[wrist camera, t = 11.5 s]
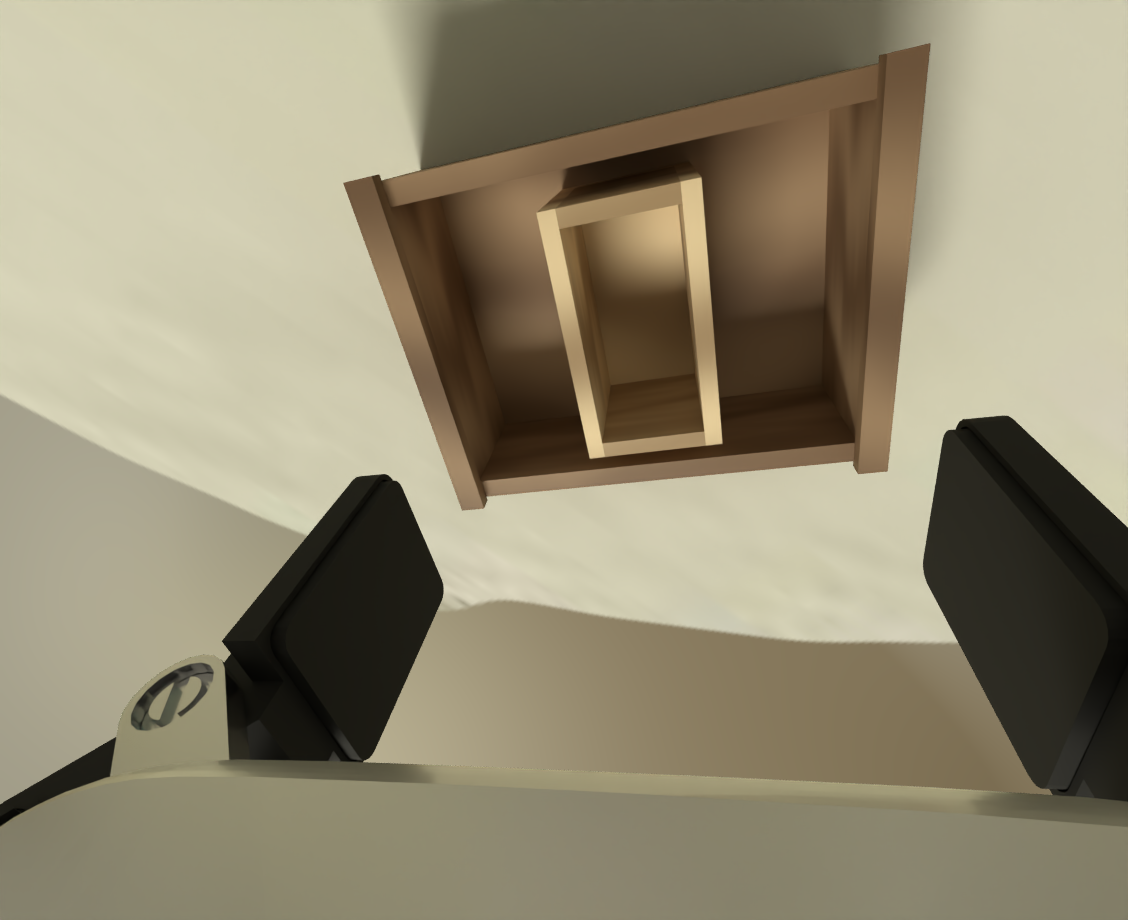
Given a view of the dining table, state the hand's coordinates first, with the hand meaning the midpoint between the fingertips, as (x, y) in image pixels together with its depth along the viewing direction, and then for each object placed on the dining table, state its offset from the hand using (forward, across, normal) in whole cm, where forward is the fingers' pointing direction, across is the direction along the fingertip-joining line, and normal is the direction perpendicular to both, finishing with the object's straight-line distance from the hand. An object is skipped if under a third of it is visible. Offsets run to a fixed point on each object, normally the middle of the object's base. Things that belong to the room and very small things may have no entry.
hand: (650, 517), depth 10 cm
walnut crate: (+17, +1, +1) cm, 17 cm away
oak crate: (+16, +1, +1) cm, 16 cm away
